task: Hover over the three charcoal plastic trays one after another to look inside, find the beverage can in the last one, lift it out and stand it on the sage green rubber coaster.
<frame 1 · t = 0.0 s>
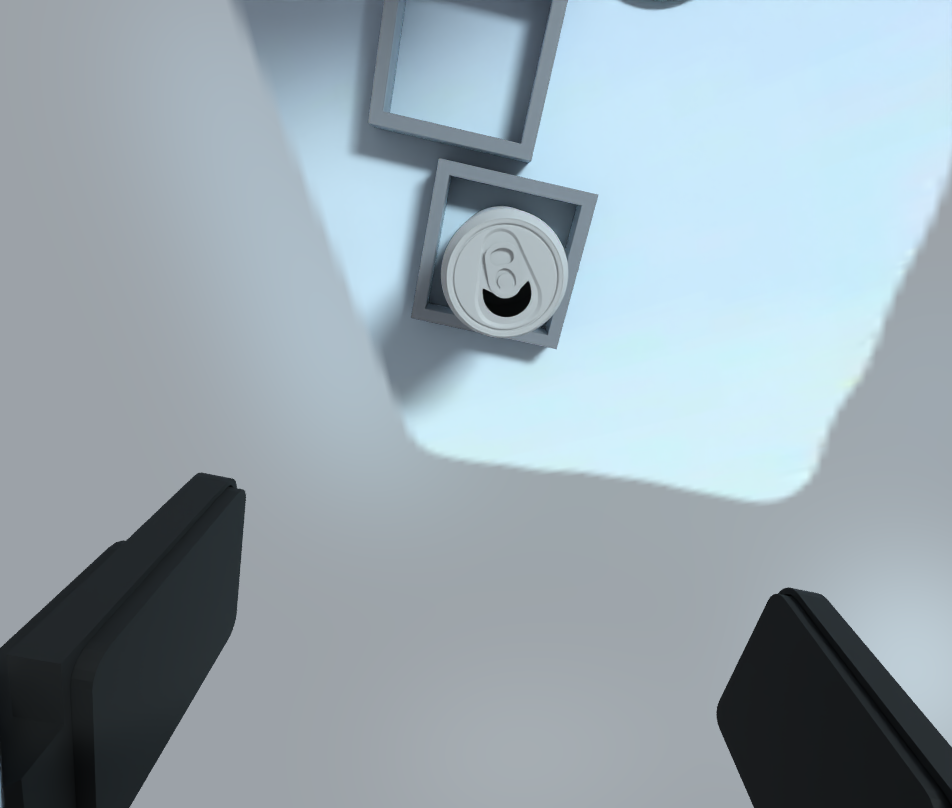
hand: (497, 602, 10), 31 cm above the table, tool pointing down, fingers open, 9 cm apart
tray 2: (468, 56, 34), on the table
tray 3: (500, 255, 38), on the table
beverage can: (500, 255, 38), resting in tray 3
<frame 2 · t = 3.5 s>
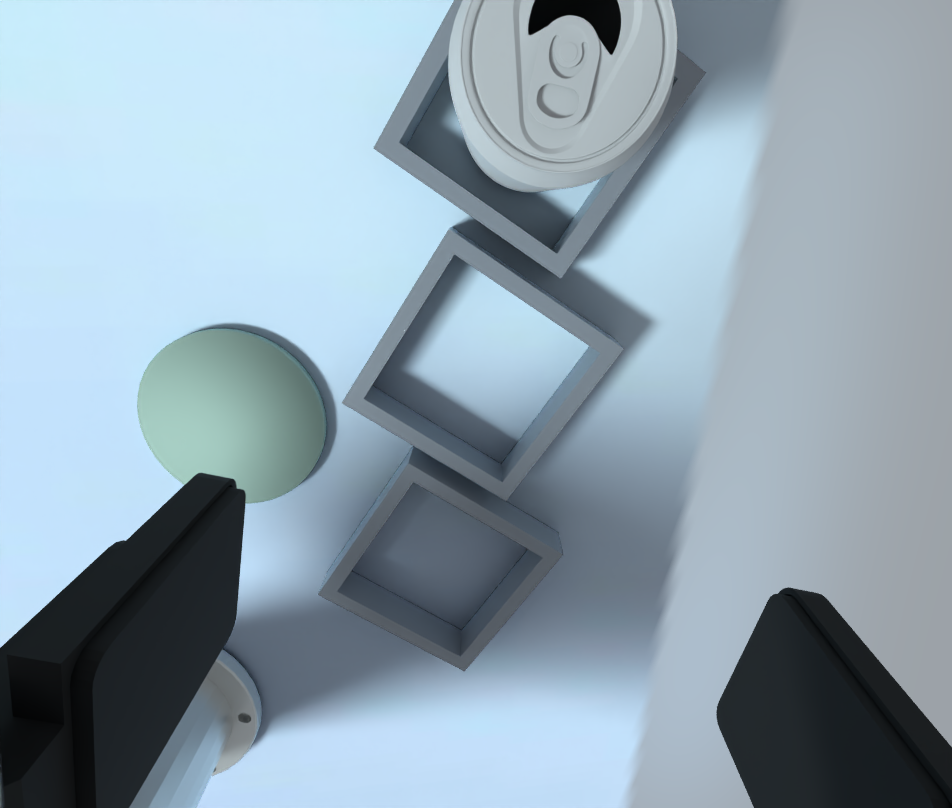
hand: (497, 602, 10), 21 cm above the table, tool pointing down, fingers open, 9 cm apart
tray 2: (480, 364, 30), on the table
coaster: (235, 417, 31), on the table
tray 1: (441, 551, 34), on the table
tray 3: (531, 118, 26), on the table
beverage can: (531, 119, 26), resting in tray 3
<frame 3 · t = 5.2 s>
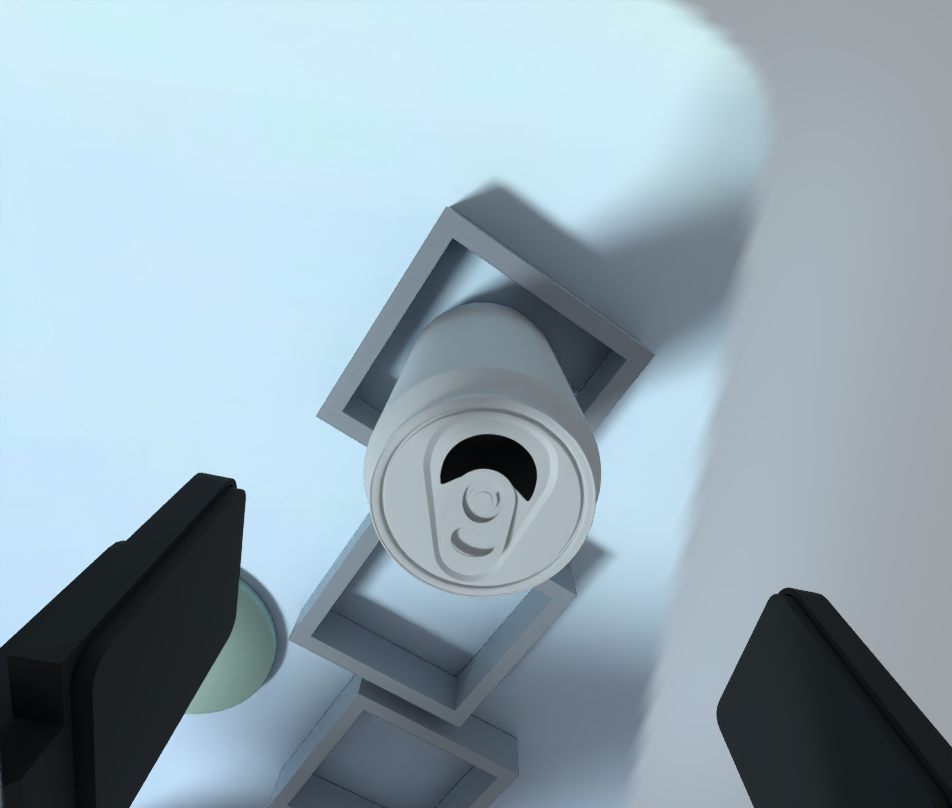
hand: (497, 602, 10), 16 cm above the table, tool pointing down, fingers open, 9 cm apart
tray 2: (433, 588, 29), on the table
coaster: (183, 633, 30), on the table
tray 1: (396, 754, 33), on the table
tray 3: (481, 371, 25), on the table
beverage can: (481, 370, 25), resting in tray 3
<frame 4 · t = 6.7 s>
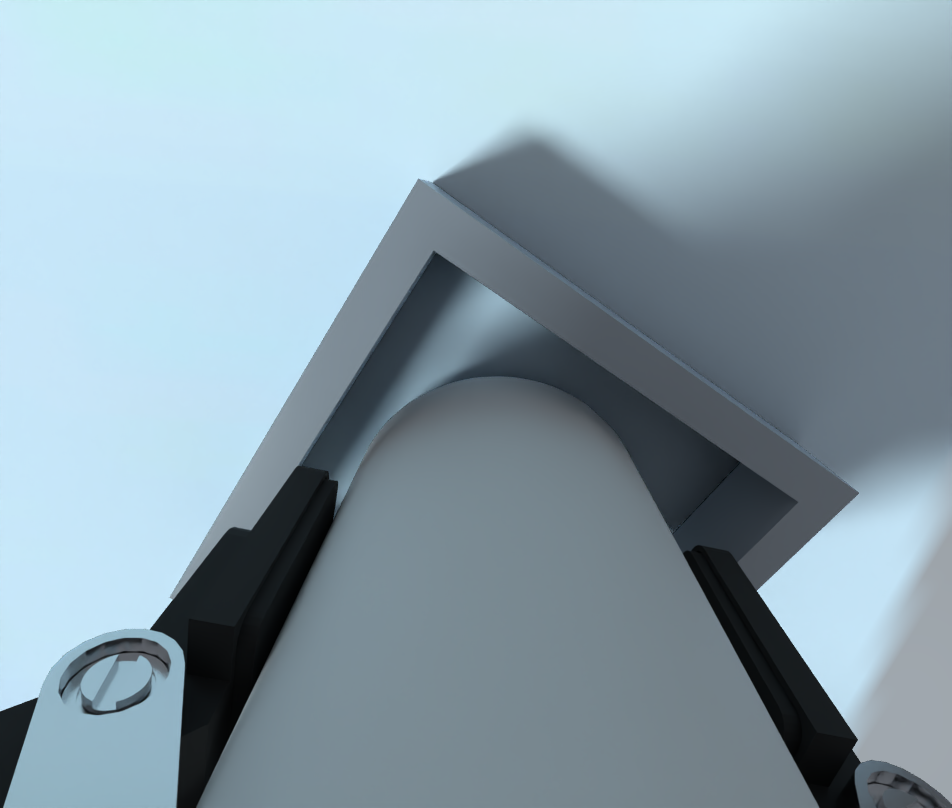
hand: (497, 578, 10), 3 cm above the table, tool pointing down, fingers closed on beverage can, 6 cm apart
tray 3: (495, 494, 13), on the table
beverage can: (495, 489, 14), resting in tray 3, touching gripper
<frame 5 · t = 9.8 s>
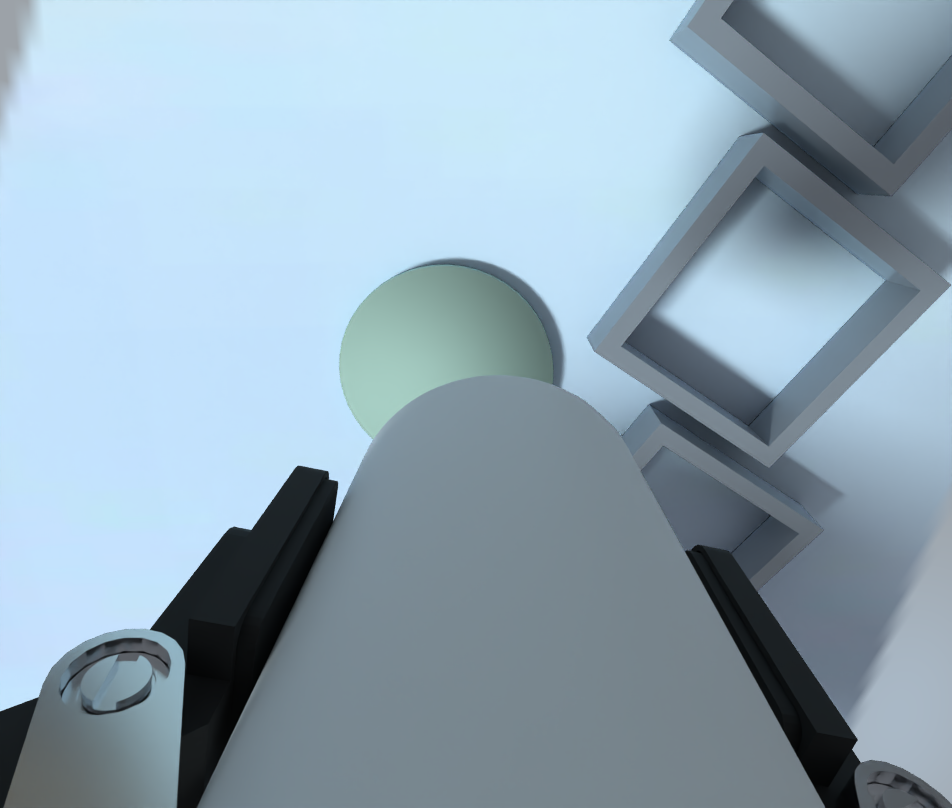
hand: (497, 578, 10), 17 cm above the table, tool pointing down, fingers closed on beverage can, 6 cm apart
tray 2: (745, 307, 25), on the table
coaster: (446, 371, 27), on the table
tray 1: (661, 525, 30), on the table
beverage can: (496, 489, 14), point 14 cm above the table, touching gripper
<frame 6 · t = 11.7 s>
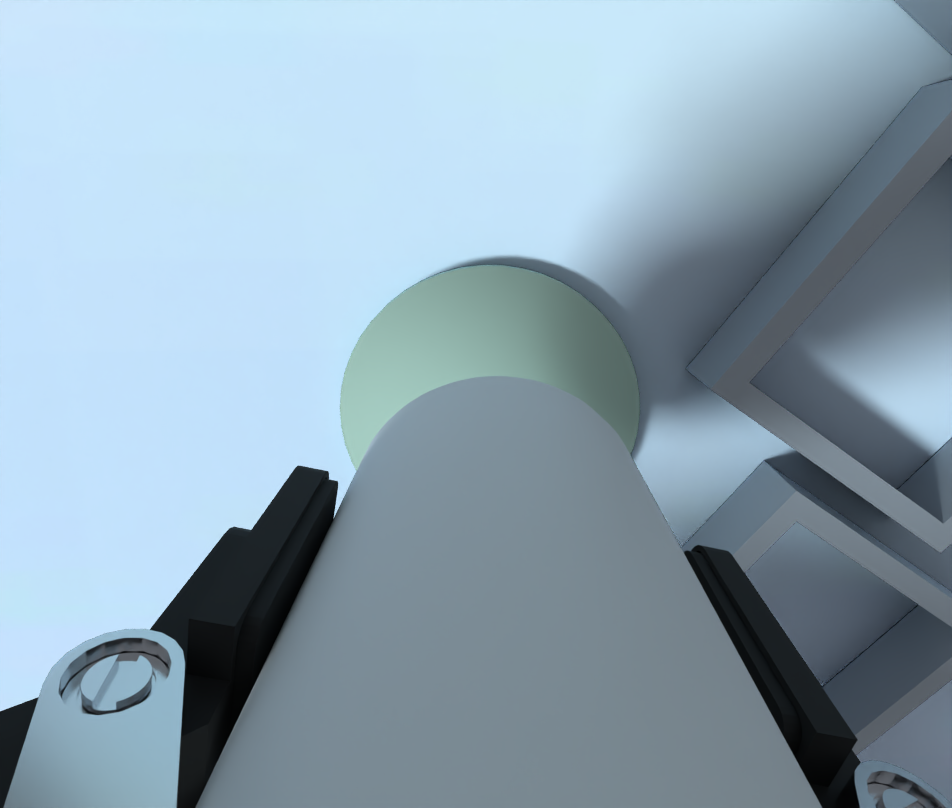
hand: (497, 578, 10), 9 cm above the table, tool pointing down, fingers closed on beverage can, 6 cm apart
tray 2: (906, 329, 18), on the table
coaster: (489, 413, 19), on the table
tray 1: (767, 621, 22), on the table
beverage can: (495, 490, 14), point 6 cm above the table, touching gripper
when the fingers open (5 cm above the table, at t = 13.0 s): beverage can drops 1 cm, resting on coaster.
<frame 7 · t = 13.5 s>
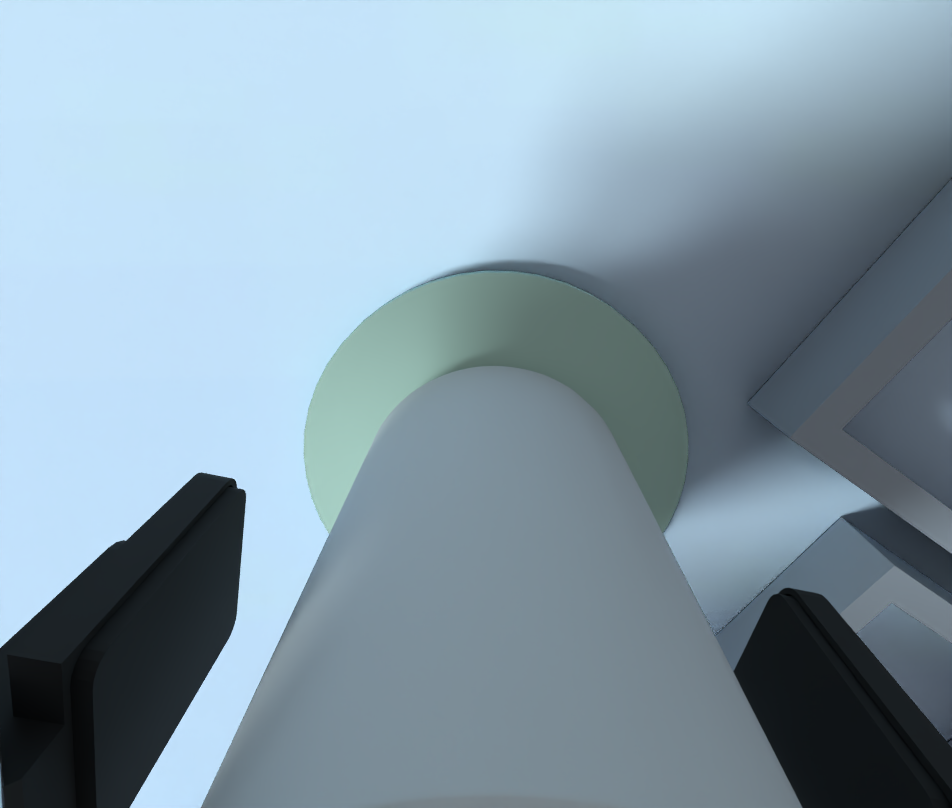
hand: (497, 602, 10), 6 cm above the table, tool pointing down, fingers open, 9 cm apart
coaster: (494, 457, 15), on the table
tray 1: (834, 705, 18), on the table
beverage can: (492, 470, 15), resting on coaster
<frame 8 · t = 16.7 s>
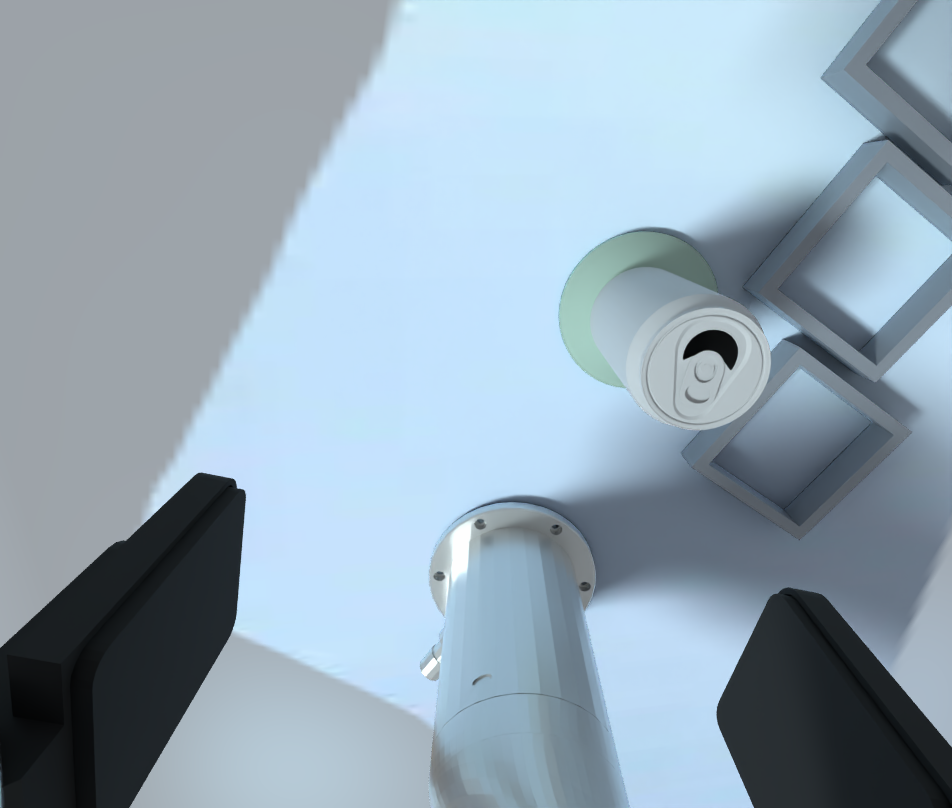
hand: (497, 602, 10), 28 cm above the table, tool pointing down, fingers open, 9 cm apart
tray 2: (858, 265, 35), on the table
coaster: (636, 312, 36), on the table
tray 1: (783, 436, 39), on the table
beverage can: (637, 316, 36), resting on coaster
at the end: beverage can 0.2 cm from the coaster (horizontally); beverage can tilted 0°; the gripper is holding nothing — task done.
